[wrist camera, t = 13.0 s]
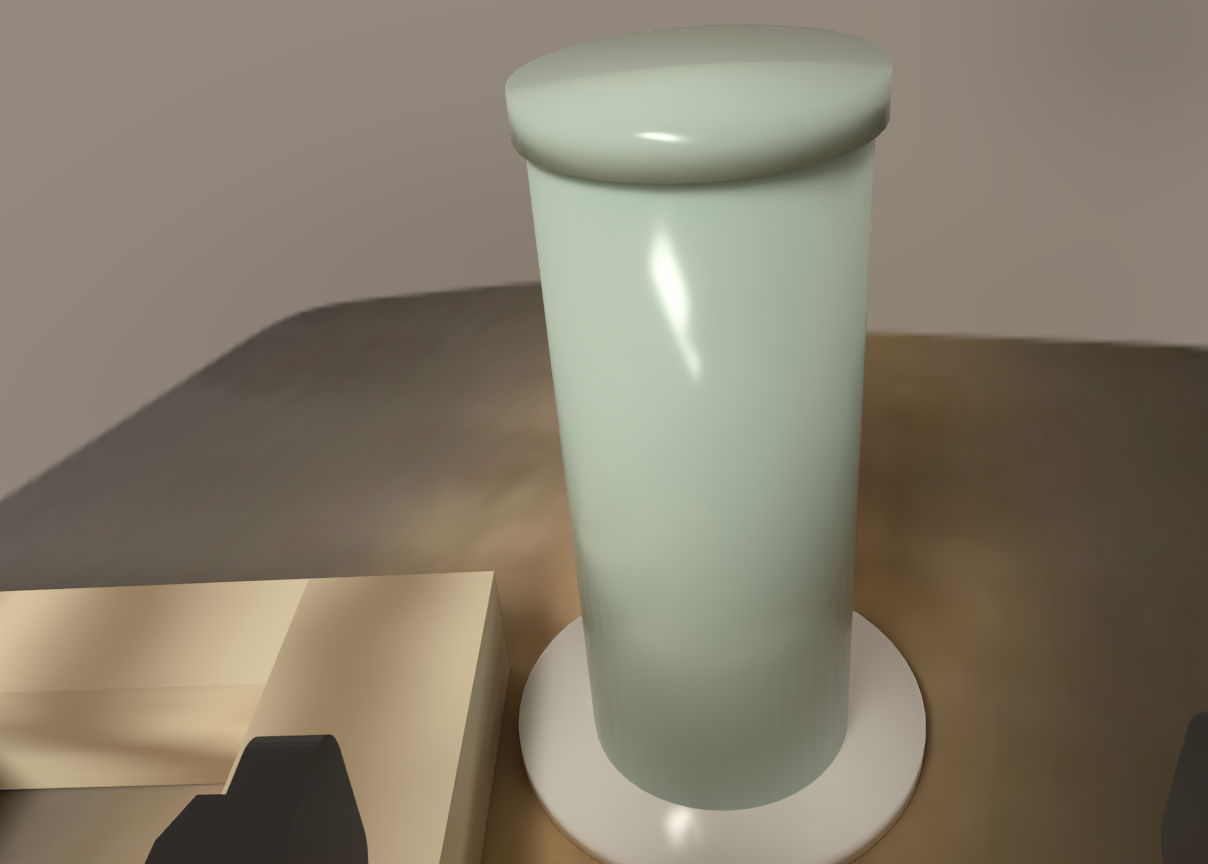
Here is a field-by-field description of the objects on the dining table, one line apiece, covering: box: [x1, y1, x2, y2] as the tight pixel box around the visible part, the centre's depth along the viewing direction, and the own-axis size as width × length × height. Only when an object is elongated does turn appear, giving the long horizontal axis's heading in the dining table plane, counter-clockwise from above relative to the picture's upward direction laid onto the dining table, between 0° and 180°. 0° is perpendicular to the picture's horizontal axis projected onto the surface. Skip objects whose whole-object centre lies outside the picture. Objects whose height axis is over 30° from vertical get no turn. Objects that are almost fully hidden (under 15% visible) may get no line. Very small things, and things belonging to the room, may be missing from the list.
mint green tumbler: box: [505, 24, 893, 811], centre depth 22 cm, size 6×8×14 cm
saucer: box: [519, 611, 926, 864], centre depth 25 cm, size 9×9×1 cm
